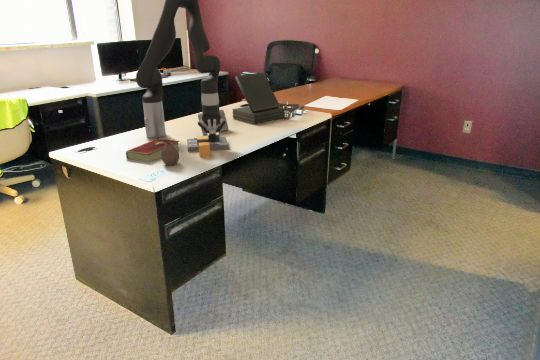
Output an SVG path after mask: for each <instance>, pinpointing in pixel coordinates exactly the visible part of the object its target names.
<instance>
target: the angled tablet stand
mask: <svg viewBox="0 0 540 360" xmlns="http://www.w3.org/2000/svg"><path fill="white" fill-rule="evenodd" d="M234 79H235V81H236V84H237V85H238V87H239V88H240V91H241V93H242V95H243V97H244V99H245V101H246V103H247V106H242V107H237V108H232V119H233V120H234V121H235V120H236V121H239V122H242V123H247V124H249V125H253V126H256V125H261V124H265V123H269V122H270V123H271V122H274V121H278V120H283V119H285V108H284V107H281V105H280V103H279V101H278V98H277V97H276V94H275V93H274V91H273V88H272V87H271V86H270V83H269V81H268V80H267V78H266V76H265V74H264V72H258V73H250V74H241V75H236V76H235V77H234Z"/></svg>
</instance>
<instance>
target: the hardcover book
mask: <svg viewBox="0 0 540 360" xmlns="http://www.w3.org/2000/svg"><path fill="white" fill-rule="evenodd" d="M179 142H180V140H174V139H167V138H166V139H165V138H160V137H158V138H156V139H155V138H154V140H151V141H148V142H146V143H144V144H141V145H138V146H136V147H134V148H131V149H128V150H126V151H125V157H126V160H134V161H140V162H148V163H149V162H152V161H155V160H157V159H159V158H162V157H161V153H162V150H163V148H164V147H165V145H166V143H172V144H173V146H174V147H175V148H176V149H177V150H178V149H179Z"/></svg>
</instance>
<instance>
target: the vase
mask: <svg viewBox="0 0 540 360" xmlns="http://www.w3.org/2000/svg"><path fill="white" fill-rule="evenodd" d="M160 158H161V160H162V162H163V164H164V165H165V166H170V167H171V166H176V165H177V164H178V163H179V160H180V153H179V150H178V149H176V148H175V147H174V146H173V144H172V143H166V145H165V147H164V148H163V150H162V153H161V157H160Z"/></svg>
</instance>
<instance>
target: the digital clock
mask: <svg viewBox="0 0 540 360" xmlns="http://www.w3.org/2000/svg"><path fill="white" fill-rule="evenodd" d="M219 110H220V116H221V118H222V119H223V120H225V121H226V123H225V125H224V126H223V127H222V129H221V130H220V132H219V133H222V131H223V132H225V131H228V130H229V125H228V122H227V121H228V120H227V117H226V113H225V110H224V109H223V108H222V109H219ZM202 116H203V114H202V112H201V113H198V114H197V117H198V121H200V120H201V119H202ZM220 124H221V123H220V121H219V123H218V124H217V125H216V129H217V128H218V126H219V125H220ZM203 125H204V127H205V128H206V129H207V130H209V129H208V126H207V125H206V124H205V123H204V122H203ZM211 129H212V132H213V126H211ZM200 130H201V133H202V136H207V133H205V131H204V130H203V129H202V128H201V127H200Z"/></svg>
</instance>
